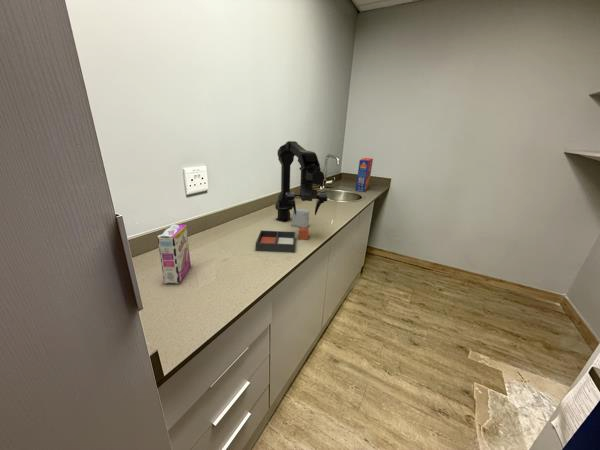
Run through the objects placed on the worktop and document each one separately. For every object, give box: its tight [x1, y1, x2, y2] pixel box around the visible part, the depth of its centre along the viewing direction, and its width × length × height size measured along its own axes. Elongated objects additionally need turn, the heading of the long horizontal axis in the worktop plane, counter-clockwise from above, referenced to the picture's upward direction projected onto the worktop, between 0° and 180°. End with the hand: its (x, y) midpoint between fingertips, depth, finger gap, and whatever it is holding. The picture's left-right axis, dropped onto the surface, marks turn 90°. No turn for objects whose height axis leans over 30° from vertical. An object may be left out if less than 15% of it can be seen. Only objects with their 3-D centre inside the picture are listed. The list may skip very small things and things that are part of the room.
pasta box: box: [355, 157, 374, 193], centre depth 231 cm, size 28×8×28 cm, turn 157°
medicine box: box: [292, 208, 310, 228], centre depth 130 cm, size 8×4×9 cm, turn 71°
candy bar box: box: [156, 223, 192, 285], centre depth 79 cm, size 11×5×16 cm, turn 5°
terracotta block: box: [298, 226, 310, 240], centre depth 116 cm, size 4×4×4 cm
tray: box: [255, 229, 296, 253], centre depth 107 cm, size 16×14×4 cm
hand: (305, 214), depth 113 cm, fingers open, 9 cm apart
